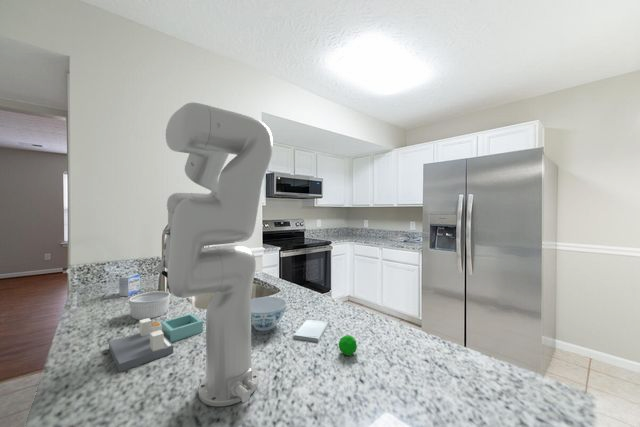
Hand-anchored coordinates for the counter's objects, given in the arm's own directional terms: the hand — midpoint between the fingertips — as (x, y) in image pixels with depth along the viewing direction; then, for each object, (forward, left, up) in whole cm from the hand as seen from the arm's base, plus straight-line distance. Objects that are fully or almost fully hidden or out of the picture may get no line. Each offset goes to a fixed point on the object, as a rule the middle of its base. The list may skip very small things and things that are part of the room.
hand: (181, 287), depth 84 cm
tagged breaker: (-4, +8, -12) cm, 15 cm away
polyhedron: (-47, -27, -15) cm, 56 cm away
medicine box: (+61, +3, -15) cm, 63 cm away
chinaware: (-16, -21, -15) cm, 30 cm away
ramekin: (+25, +3, -15) cm, 29 cm away
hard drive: (-30, -30, -15) cm, 45 cm away
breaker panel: (-4, +12, -14) cm, 19 cm away
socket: (0, 0, -14) cm, 14 cm away
